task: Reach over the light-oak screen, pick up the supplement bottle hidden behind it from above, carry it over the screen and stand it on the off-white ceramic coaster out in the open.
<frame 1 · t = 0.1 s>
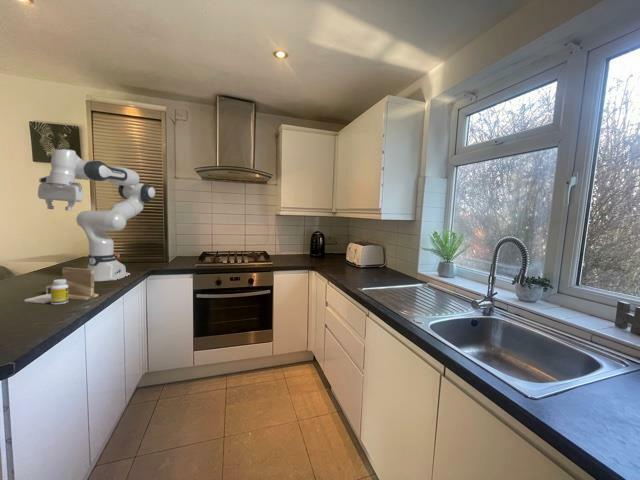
hand: (59, 209, 131), 39 cm above the countertop, tool pointing down, fingers open, 8 cm apart
screen: (78, 296, 125), on the countertop
coaster: (45, 299, 119), on the countertop
letter cube: (54, 293, 127), on the countertop
supplement bottle: (59, 303, 116), on the countertop
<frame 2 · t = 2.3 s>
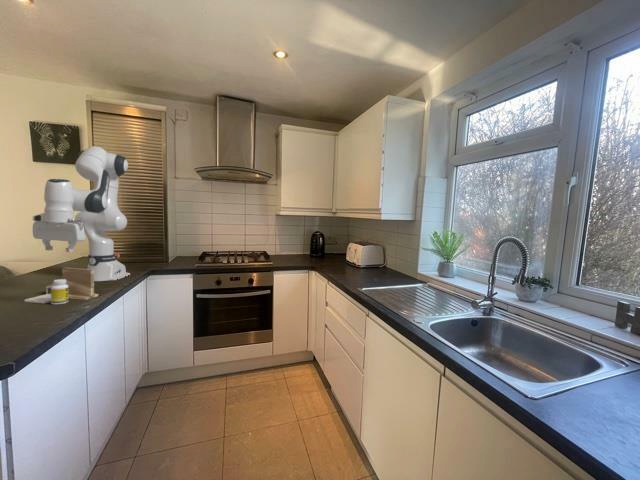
hand: (59, 251, 114), 22 cm above the countertop, tool pointing down, fingers open, 8 cm apart
nothing on the countertop moved.
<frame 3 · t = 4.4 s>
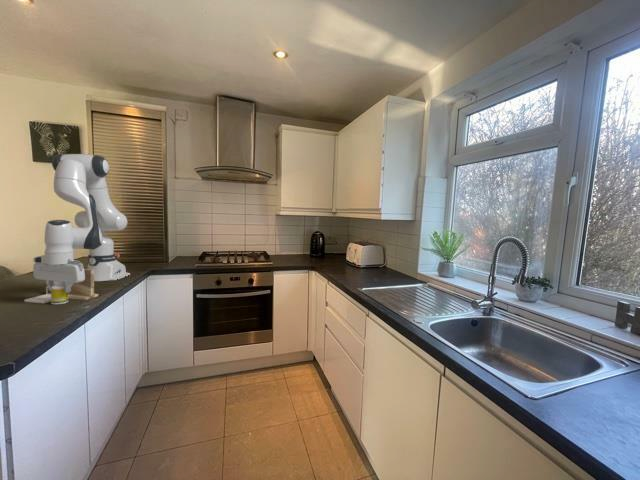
hand: (59, 291, 116), 5 cm above the countertop, tool pointing down, fingers closed on supplement bottle, 5 cm apart
supplement bottle: (59, 303, 116), on the countertop, touching gripper
everything else where it was.
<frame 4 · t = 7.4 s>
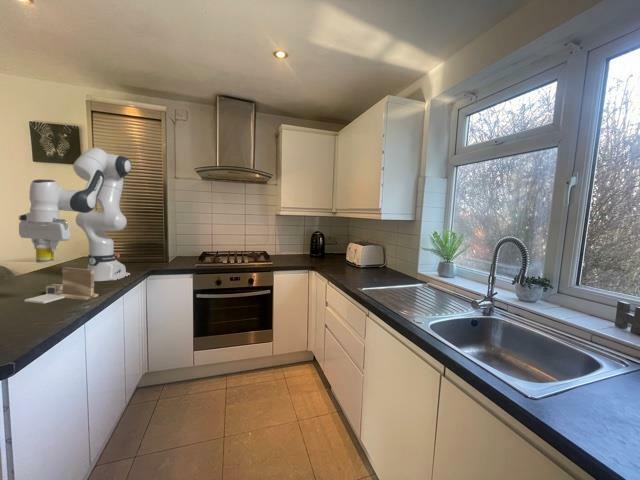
hand: (45, 249, 117), 22 cm above the countertop, tool pointing down, fingers closed on supplement bottle, 5 cm apart
supplement bottle: (45, 262, 117), point 16 cm above the countertop, touching gripper
everything else where it was.
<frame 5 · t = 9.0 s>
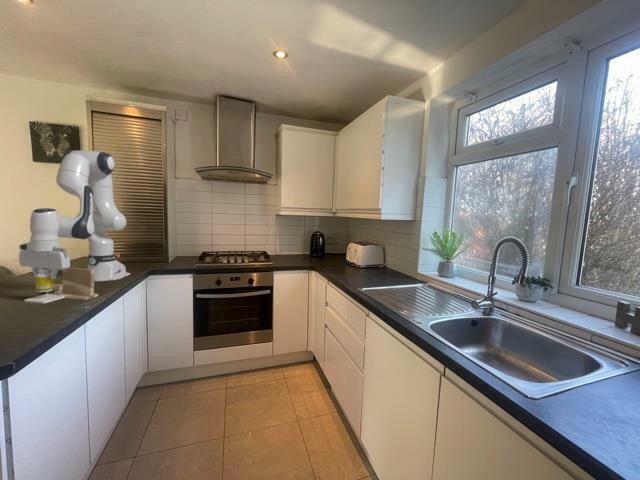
hand: (45, 278, 118), 10 cm above the countertop, tool pointing down, fingers closed on supplement bottle, 5 cm apart
supplement bottle: (44, 291, 118), point 4 cm above the countertop, touching gripper
everything else where it was.
when the fingers open (8 cm above the countertop, at t = 10.3 s): supplement bottle drops 1 cm, resting on coaster.
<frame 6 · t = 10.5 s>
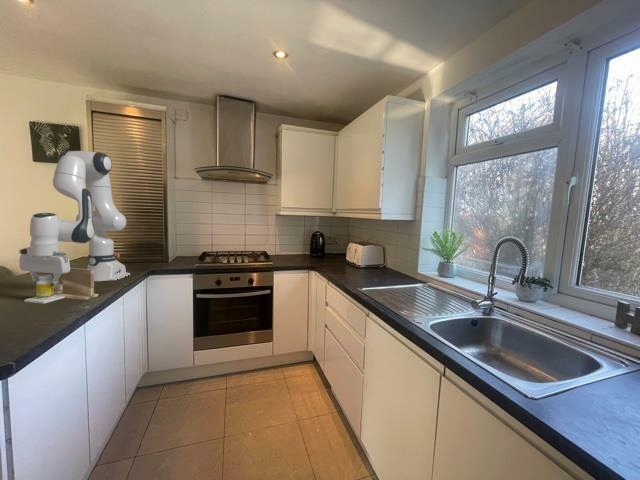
hand: (45, 282, 118), 8 cm above the countertop, tool pointing down, fingers open, 7 cm apart
supplement bottle: (45, 298, 119), point 1 cm above the countertop, touching coaster
everything else where it was.
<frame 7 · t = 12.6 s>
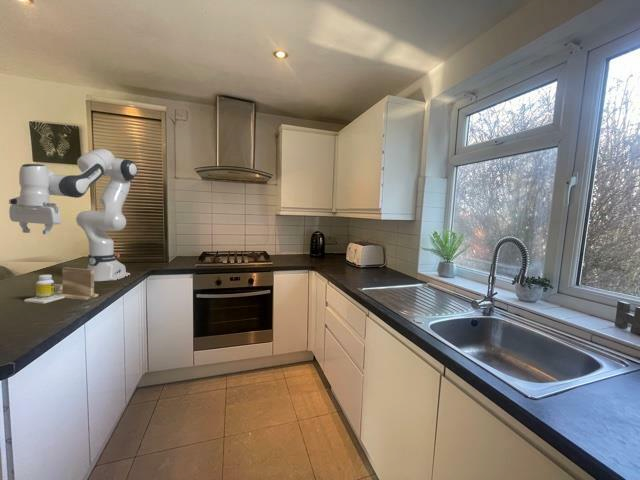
hand: (36, 233, 119), 28 cm above the countertop, tool pointing down, fingers open, 8 cm apart
nothing on the countertop moved.
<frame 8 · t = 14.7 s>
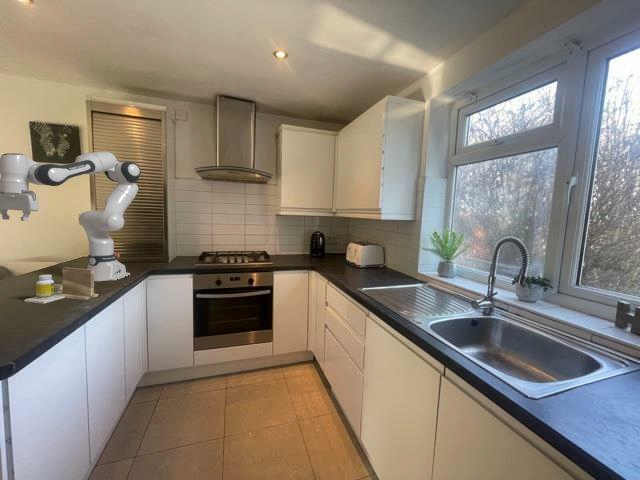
hand: (15, 220, 124), 33 cm above the countertop, tool pointing down, fingers open, 8 cm apart
nothing on the countertop moved.
at the end: supplement bottle inside the target area on the coaster (0.1 cm from its centre), point 0.6 cm above the coaster's base; supplement bottle tilted 0°; the gripper is holding nothing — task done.
